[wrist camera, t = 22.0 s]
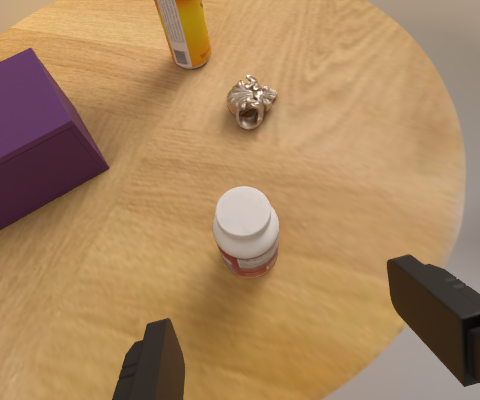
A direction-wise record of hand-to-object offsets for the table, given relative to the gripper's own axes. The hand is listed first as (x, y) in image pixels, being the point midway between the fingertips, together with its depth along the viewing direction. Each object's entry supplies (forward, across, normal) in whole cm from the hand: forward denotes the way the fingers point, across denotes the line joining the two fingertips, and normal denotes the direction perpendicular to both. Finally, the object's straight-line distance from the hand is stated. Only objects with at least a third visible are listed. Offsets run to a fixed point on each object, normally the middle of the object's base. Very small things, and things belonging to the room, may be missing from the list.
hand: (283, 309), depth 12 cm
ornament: (+39, -6, -5) cm, 40 cm away
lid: (+33, +25, -11) cm, 43 cm away
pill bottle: (+25, 0, +10) cm, 27 cm away
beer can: (+48, +1, -14) cm, 50 cm away
